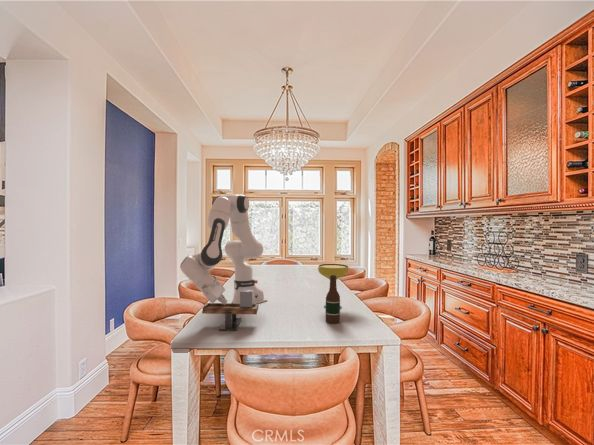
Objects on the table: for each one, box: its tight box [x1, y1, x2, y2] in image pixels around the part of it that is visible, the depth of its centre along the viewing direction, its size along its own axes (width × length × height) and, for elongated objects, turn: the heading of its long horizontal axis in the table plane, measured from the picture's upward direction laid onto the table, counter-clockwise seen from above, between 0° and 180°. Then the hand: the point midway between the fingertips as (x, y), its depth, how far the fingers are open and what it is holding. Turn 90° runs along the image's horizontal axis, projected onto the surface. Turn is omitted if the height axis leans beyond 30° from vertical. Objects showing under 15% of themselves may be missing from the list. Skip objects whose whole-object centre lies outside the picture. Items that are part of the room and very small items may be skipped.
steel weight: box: [240, 289, 254, 308], centre depth 165 cm, size 6×5×9 cm
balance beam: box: [201, 302, 259, 315], centre depth 166 cm, size 26×10×3 cm, turn 91°
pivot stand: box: [218, 312, 243, 332], centre depth 166 cm, size 8×17×8 cm, turn 1°
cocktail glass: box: [317, 263, 349, 310], centre depth 201 cm, size 18×18×25 cm
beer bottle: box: [325, 275, 341, 325], centre depth 173 cm, size 8×8×24 cm
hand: (226, 303), depth 166 cm, fingers closed
